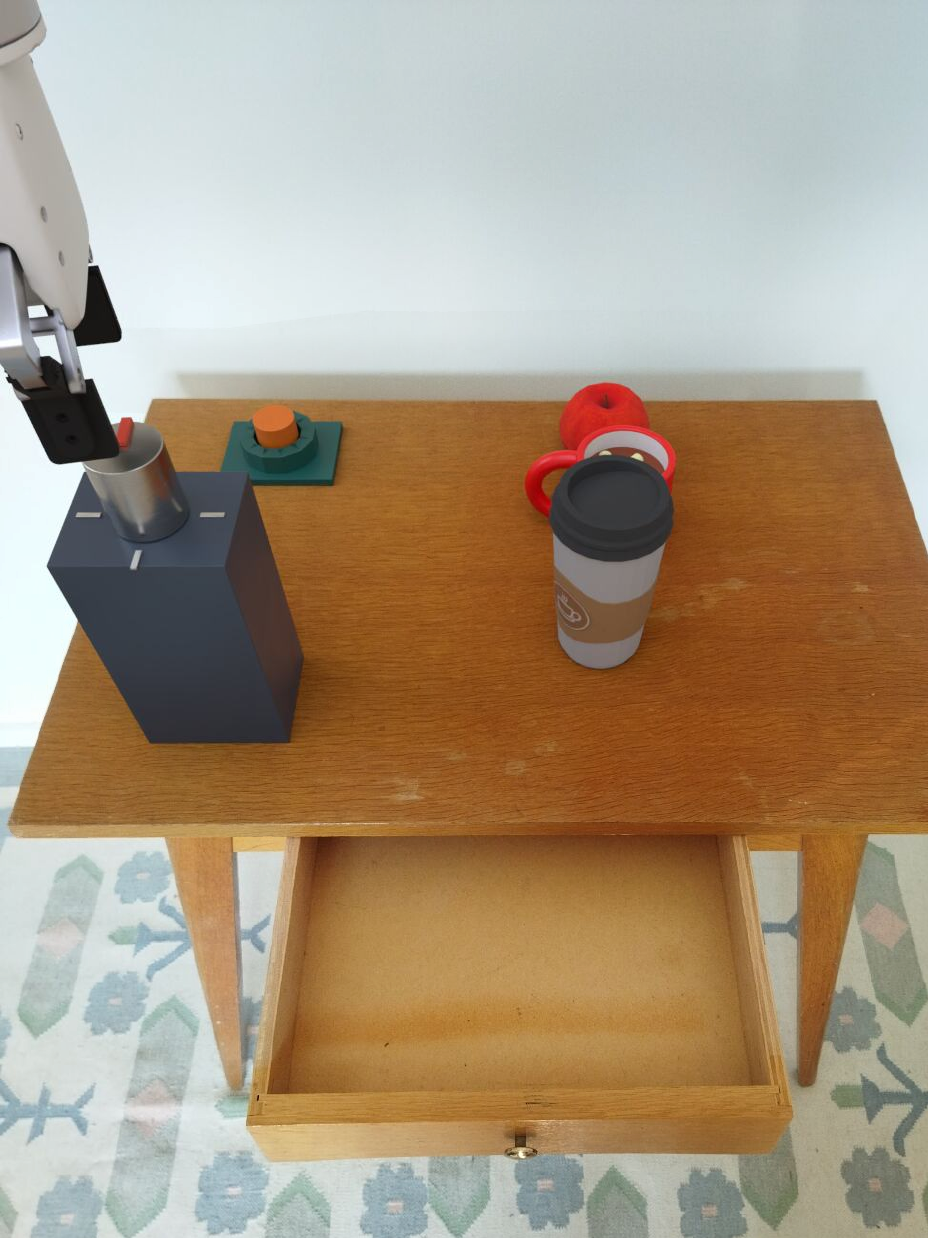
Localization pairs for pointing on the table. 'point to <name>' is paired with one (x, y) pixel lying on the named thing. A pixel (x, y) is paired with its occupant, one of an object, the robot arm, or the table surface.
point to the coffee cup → (607, 555)
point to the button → (275, 426)
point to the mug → (603, 442)
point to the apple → (600, 412)
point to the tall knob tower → (187, 615)
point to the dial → (139, 485)
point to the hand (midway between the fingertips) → (90, 396)
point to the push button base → (286, 454)
